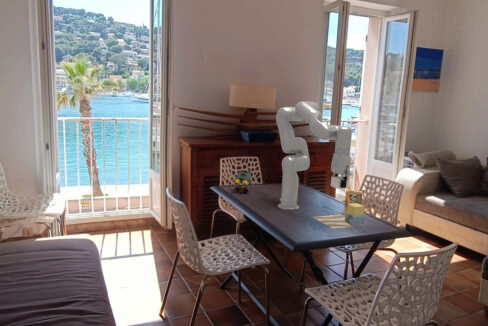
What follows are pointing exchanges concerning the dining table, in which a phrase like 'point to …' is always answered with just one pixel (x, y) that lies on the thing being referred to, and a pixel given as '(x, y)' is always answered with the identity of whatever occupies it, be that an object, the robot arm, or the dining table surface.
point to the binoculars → (245, 178)
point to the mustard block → (355, 209)
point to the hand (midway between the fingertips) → (339, 185)
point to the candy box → (352, 198)
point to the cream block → (337, 182)
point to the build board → (341, 220)
